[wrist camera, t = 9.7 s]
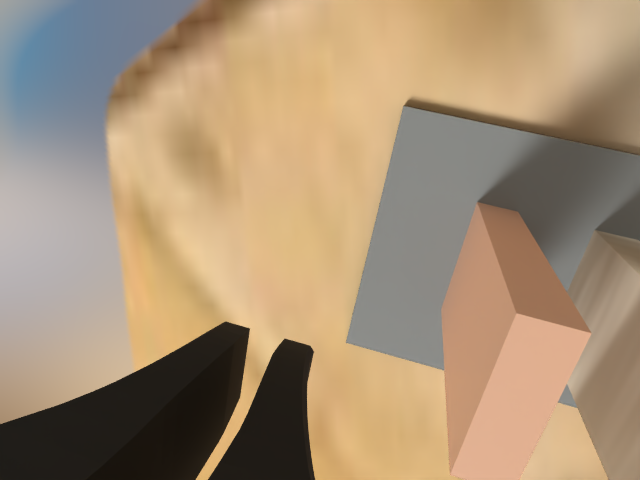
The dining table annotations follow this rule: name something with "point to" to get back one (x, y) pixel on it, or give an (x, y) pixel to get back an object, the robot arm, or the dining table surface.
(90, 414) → the robot arm
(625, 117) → the dining table surface
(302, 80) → the dining table surface
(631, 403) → the wooden block
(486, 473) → the terracotta domino
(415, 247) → the slate runway mat
